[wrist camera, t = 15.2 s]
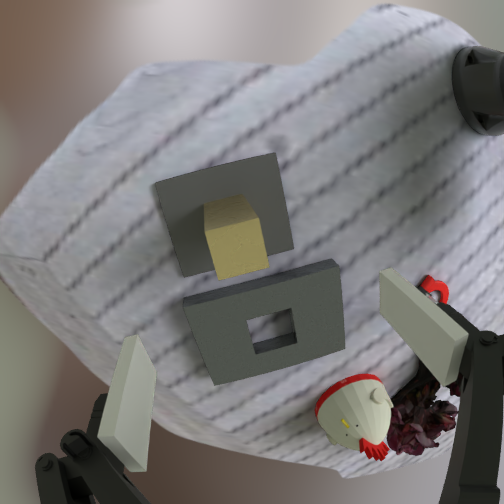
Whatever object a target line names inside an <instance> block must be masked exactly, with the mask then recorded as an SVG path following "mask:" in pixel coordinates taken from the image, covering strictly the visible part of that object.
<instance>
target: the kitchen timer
mask: <svg viewBox="0 0 504 504" xmlns="http://www.w3.org/2000/svg"><path fill="white" fill-rule="evenodd" d="M392 407H393V404H392V402H391V400H390V397H389V396H388V394H387V392H386V389H385V387H384V385H383V383H382V382H381V380H380V379H379V378H378V377H376V376H375V375H371V374H358V375H354V376H351V377H347V378H345V379H343V380H341V381H339V382H337V383H336V384H334V385H333V386H332V387H330V388H329V389H328V390H327V391H326V392H325V393H324V394H323V395H322V396H321V397H320V399H319V400H318V402H317V403H316V407H315V414H316V417H317V420H318V422H319V424H320V425H321V427H322V428H323V429H324V430H325V431H326V432H327V434H326V436H327V438H328V440H329V441H330V442H331V443H332V444H333V445H336V444H337V443H338V444H340V445H342V446H344V447H346V448H349V449H352V450H357V451H360V453H362V452H363V451H365V453H366V455H367V457H368V459H371V458H372V457H374V459H375V460H376V461H377V460H378V459H380V461H382V460H384V459H385V456H386V455H387V454H388V453H387V451H389V450H390V449H389V448H388V447H387V445H386V444H385V443H384V442H383V439H384V438H385V436H386V434H387V432H388V429H389V426H390V419H391V408H392Z"/></svg>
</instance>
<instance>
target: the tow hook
mask: <svg viewBox="0 0 504 504" xmlns="http://www.w3.org/2000/svg"><path fill="white" fill-rule="evenodd" d="M417 289H418V290H419V291H420V292H422V293H423V294H424V295H425V296H426V297H428V298H429V299H430V300H431V301H432V302H433V303H435V304H437V303H438V302H437V301H436V300H435V299H433V298H432V297H431V296H432V295H431V294H430V293H431V292H432V291H434V290H439V291H440V293H441V298H440V302H443V303H445V304H446V303H447V300H448V296H449V290H448V287H447V285H446V284H445V283H443V282H442V281H439V280H438V281H434V279H433V278H432V277H431V276H430V275H428V276H427V277H426V279H425V280H424V281H423V283H422V284H421V285H420V286H419V287H418V288H417Z"/></svg>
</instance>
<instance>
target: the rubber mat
mask: <svg viewBox="0 0 504 504" xmlns="http://www.w3.org/2000/svg"><path fill="white" fill-rule="evenodd" d="M155 185H156V189H157V192H158V196H159V199H160V203H161V206H162V210H163V213H164V216H165V220H166V223H167V226H168V229H169V233H170V236H171V239H172V242H173V245H174V249H175V252H176V255H177V258H178V261H179V264H180V267H181V270H182V273H183V276H184V277H188V276H192V275H196V274H200V273H204V272H208V271H212V270H215V267H214V263H213V260H212V256H211V253H210V249H209V246H208V242H207V238H206V235H205V228H204V203H208V202H211V201H215V200H219V199H223V198H227V197H231V196H235V195H239V194H243V195H244V197H245V198H246V200H247V201H248V203H249V204H250V206H251V207H252V209H253V210H254V211H255V213H256V214H257V216H258V217H259V221H260V226H261V230H262V235H263V239H264V244H265V249H266V253H267V256H269V255H273V254H277V253H281V252H285V251H288V250H292V249H294V246H293V240H292V235H291V229H290V224H289V218H288V213H287V208H286V202H285V197H284V192H283V187H282V182H281V177H280V172H279V167H278V162H277V157H276V153H271V154H266V155H261V156H257V157H252V158H248V159H243V160H239V161H235V162H231V163H226V164H222V165H218V166H214V167H210V168H207V169H203V170H199V171H195V172H191V173H188V174H184V175H180V176H177V177H173V178H170V179H166V180H163V181H159V182H156V183H155Z"/></svg>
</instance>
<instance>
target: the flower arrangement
mask: <svg viewBox="0 0 504 504" xmlns="http://www.w3.org/2000/svg"><path fill="white" fill-rule="evenodd" d="M458 313H459V312H458ZM461 315H462V314H461ZM462 317H464V316H463V315H462ZM477 329H478V328H477ZM462 379H463V375H462V373H461V372H460V371H459V373H458V376H457V379H456V381H454V382H452V383H450V384H449V385H447V386H445V387H447V388H449V389H450V395H451V396H452V395H456V396H457V397H460V396H461V392H458V391H459V388H460V385H461V382H462ZM439 388H440V382H439V381H438V380H437V379H436V378H435V376H434V375H433V374H432V373H431V372H430V370H429V369H428V368H427V367H426V366H425V364H424V363H423V362H422V361H421V360H420V368H419V370H418V373H417V375H416V376H415V377H414V378H413V379H412V380H411V381H410V382H409V383H408V384H407V385H406V386H405V387H404V388H403V389H401V390H400V391H399V392H398V393H397V394H396V395H395V396H394V397H393V398H392V399H391V402H392V404H393V407H392V408H391V419H390V426H389V429H388V432H387V434H386V435H387V442H388V445H389V447H390V448H391V449H392V450H394V451H396V454H397V455H399V454H401V453H402V452H403V451H404V452H405V453H408V454H409V455H415V456H417V455H422V453H423V451H424V449H425V448H433V447H439V443H438V442H437V443H435V442H434V441H433V440H435V439H436V438H437V437H438V436H440V435H441V433H440V432H441V431H442V430H443V431H445V432H447V431H449V430H451V429H454V428H455V425H456V422H455V417H456V415H457V414H458V412H459V411H457V408H456V406H454V405H452V404H451V403H449V401H441V400H437V401H435V403H434V402H433V400H435V399H436V397H437V396H435V393H436V392H437V391H438V390H439ZM430 405H432V406H430ZM450 416H453V417H450Z"/></svg>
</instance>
